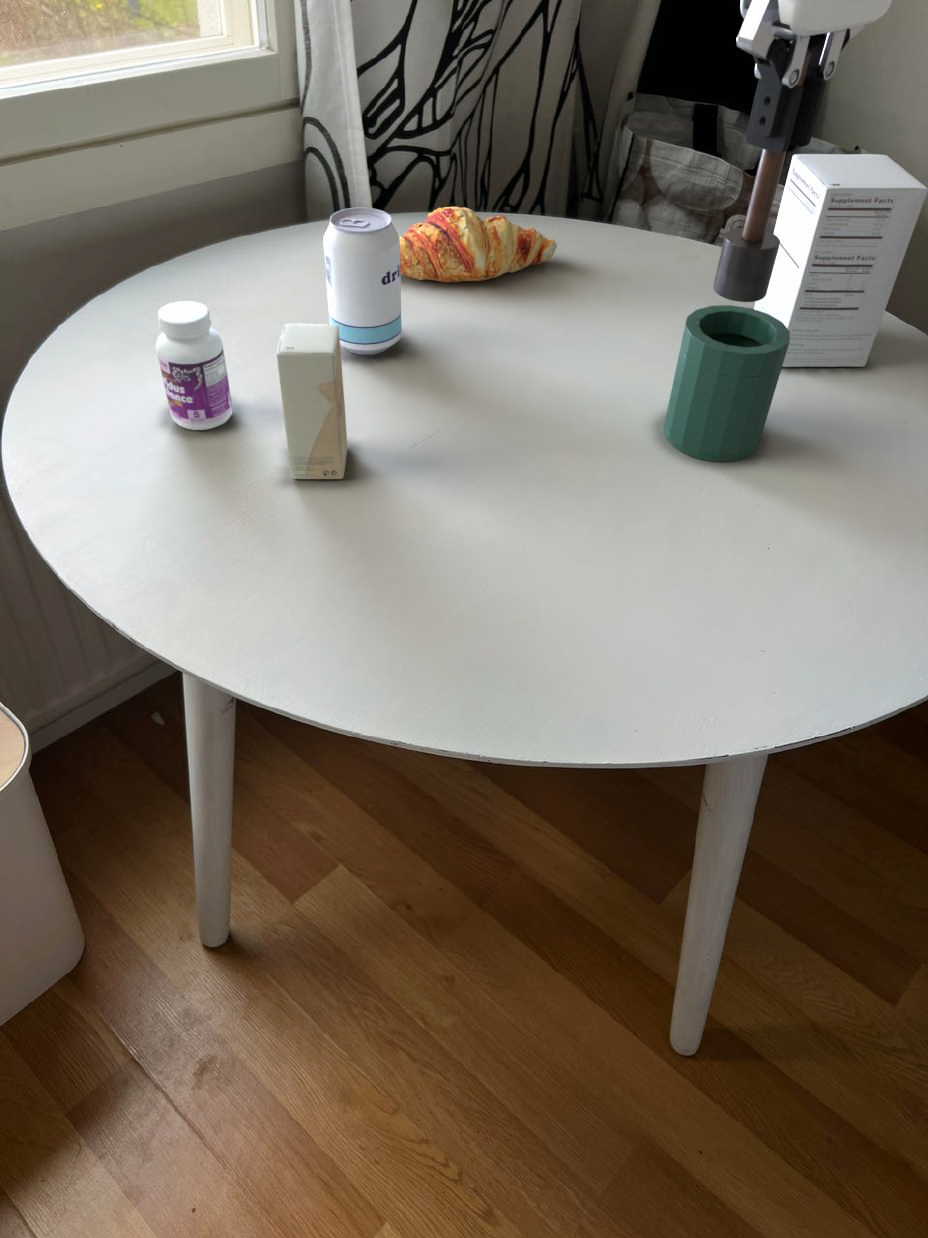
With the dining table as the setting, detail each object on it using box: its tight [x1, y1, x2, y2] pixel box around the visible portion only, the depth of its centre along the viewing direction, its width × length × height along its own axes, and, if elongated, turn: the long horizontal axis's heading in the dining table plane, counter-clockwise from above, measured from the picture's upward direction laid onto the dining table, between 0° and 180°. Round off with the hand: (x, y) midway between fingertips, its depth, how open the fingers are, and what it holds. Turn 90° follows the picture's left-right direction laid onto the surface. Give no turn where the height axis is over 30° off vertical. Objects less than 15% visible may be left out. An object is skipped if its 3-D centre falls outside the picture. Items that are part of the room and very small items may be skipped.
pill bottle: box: [155, 300, 234, 431], centre depth 77 cm, size 5×5×10 cm
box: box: [276, 323, 348, 480], centre depth 72 cm, size 5×4×11 cm
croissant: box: [399, 206, 558, 284], centre depth 101 cm, size 21×10×8 cm, turn 104°
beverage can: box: [322, 206, 402, 356], centre depth 86 cm, size 7×7×12 cm
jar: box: [663, 304, 790, 463], centre depth 77 cm, size 8×8×10 cm
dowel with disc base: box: [712, 48, 812, 303], centre depth 65 cm, size 4×4×16 cm
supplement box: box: [753, 153, 928, 368], centre depth 87 cm, size 10×9×17 cm
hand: (777, 142), depth 63 cm, fingers closed on dowel with disc base, 1 cm apart
